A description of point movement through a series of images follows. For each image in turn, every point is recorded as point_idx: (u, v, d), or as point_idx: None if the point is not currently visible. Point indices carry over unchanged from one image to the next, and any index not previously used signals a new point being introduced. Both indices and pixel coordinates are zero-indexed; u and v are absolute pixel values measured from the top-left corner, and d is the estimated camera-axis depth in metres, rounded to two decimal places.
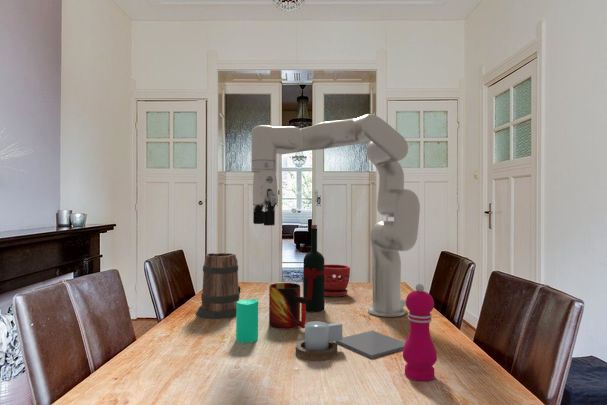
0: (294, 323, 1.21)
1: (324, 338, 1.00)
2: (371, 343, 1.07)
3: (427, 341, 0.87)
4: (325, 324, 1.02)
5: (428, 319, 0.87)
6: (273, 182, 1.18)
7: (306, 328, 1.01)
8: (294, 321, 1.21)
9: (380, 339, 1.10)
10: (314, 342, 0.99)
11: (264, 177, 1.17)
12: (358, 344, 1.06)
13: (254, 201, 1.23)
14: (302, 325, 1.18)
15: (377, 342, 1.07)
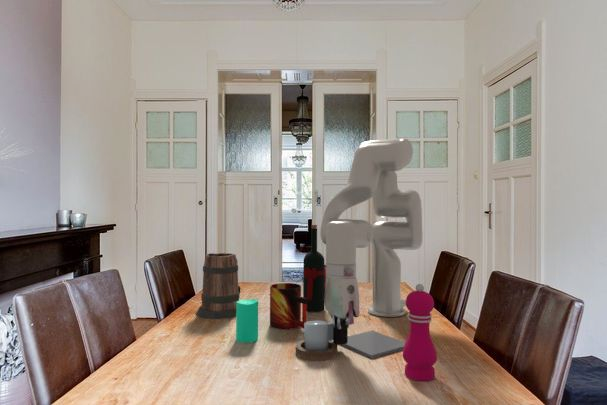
0: (295, 323, 1.21)
1: (324, 336, 1.00)
2: (371, 343, 1.07)
3: (427, 341, 0.87)
4: (324, 322, 1.03)
5: (428, 319, 0.87)
6: (355, 292, 0.98)
7: (305, 326, 1.01)
8: (295, 321, 1.21)
9: (380, 339, 1.10)
10: (313, 339, 0.99)
11: (345, 287, 0.97)
12: (358, 344, 1.06)
13: (328, 309, 1.03)
14: (303, 325, 1.18)
15: (377, 342, 1.07)
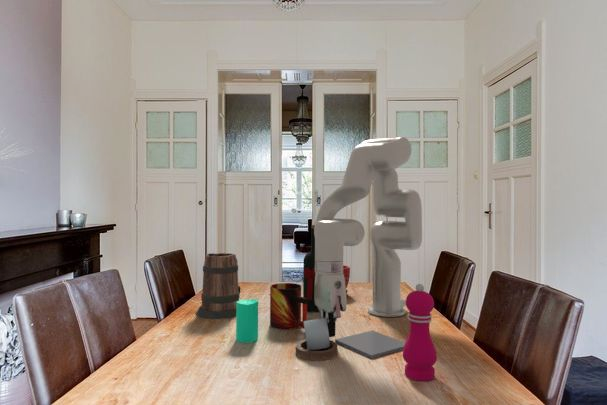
0: (295, 323, 1.21)
1: None
2: (371, 343, 1.07)
3: (427, 341, 0.87)
4: None
5: (428, 319, 0.87)
6: (342, 287, 1.04)
7: (314, 322, 1.01)
8: (295, 321, 1.21)
9: (380, 339, 1.10)
10: (325, 332, 1.02)
11: (332, 282, 1.03)
12: (358, 344, 1.06)
13: (317, 303, 1.09)
14: (303, 325, 1.18)
15: (377, 342, 1.07)
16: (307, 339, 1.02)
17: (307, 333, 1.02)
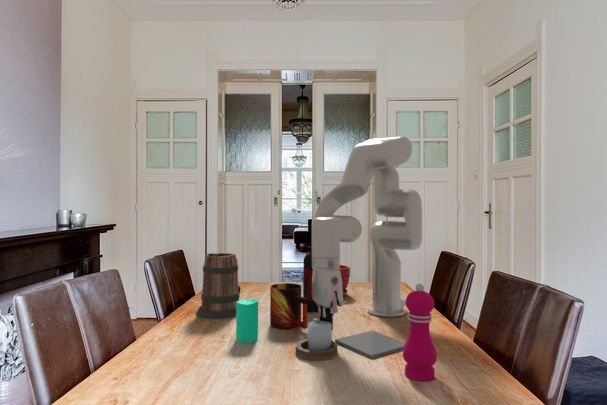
0: (295, 324, 1.21)
1: None
2: (371, 343, 1.07)
3: (427, 341, 0.87)
4: (320, 321, 1.05)
5: (428, 319, 0.87)
6: (338, 283, 1.06)
7: (322, 329, 1.00)
8: (295, 322, 1.21)
9: (380, 339, 1.10)
10: (330, 339, 1.01)
11: (329, 278, 1.05)
12: (358, 344, 1.06)
13: (314, 299, 1.11)
14: (303, 326, 1.18)
15: (377, 342, 1.07)
16: (311, 344, 1.01)
17: (312, 339, 1.00)
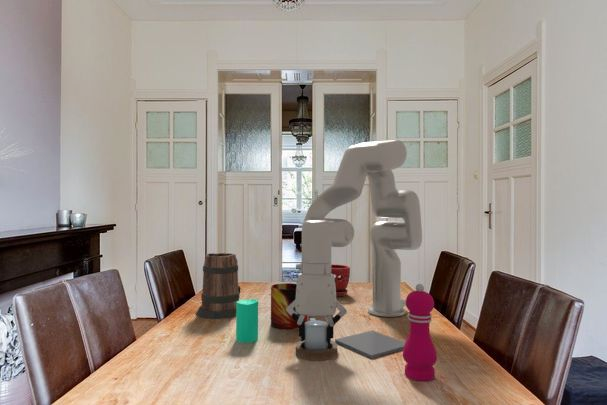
0: (296, 324, 1.20)
1: None
2: (371, 343, 1.07)
3: (427, 341, 0.87)
4: (317, 321, 1.05)
5: (428, 319, 0.87)
6: (296, 287, 1.02)
7: (318, 329, 1.00)
8: (296, 322, 1.20)
9: (380, 339, 1.10)
10: (326, 339, 1.01)
11: None
12: (358, 344, 1.06)
13: None
14: None
15: (377, 342, 1.07)
16: (308, 344, 1.01)
17: (309, 338, 1.00)
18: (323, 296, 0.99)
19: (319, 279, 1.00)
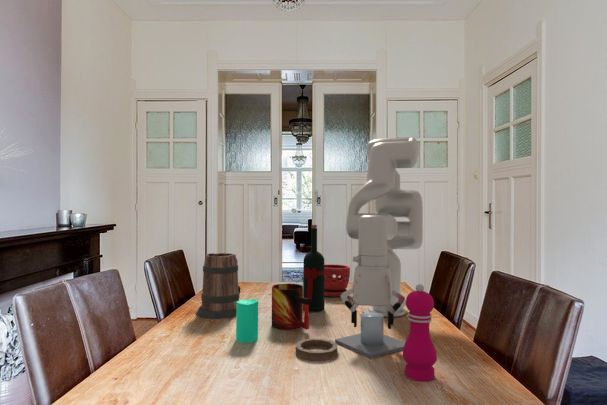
0: (297, 324, 1.20)
1: None
2: None
3: (427, 341, 0.87)
4: (371, 313, 1.10)
5: (428, 319, 0.87)
6: None
7: (376, 320, 1.05)
8: (297, 322, 1.20)
9: None
10: (382, 330, 1.06)
11: None
12: (358, 344, 1.06)
13: None
14: (305, 326, 1.17)
15: None
16: (365, 334, 1.06)
17: (366, 329, 1.05)
18: (380, 287, 1.05)
19: (376, 270, 1.05)
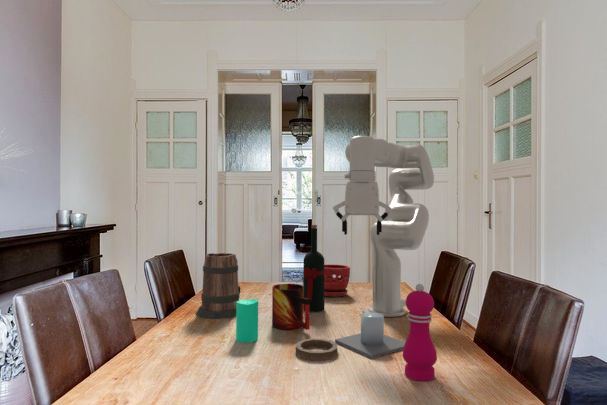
0: (297, 324, 1.20)
1: None
2: None
3: (427, 341, 0.87)
4: (372, 313, 1.10)
5: (428, 319, 0.87)
6: (345, 193, 1.21)
7: (376, 320, 1.05)
8: (297, 322, 1.20)
9: None
10: (382, 330, 1.06)
11: None
12: (358, 344, 1.06)
13: None
14: (306, 326, 1.17)
15: None
16: (365, 334, 1.06)
17: (366, 329, 1.05)
18: (369, 198, 1.19)
19: (365, 184, 1.19)
